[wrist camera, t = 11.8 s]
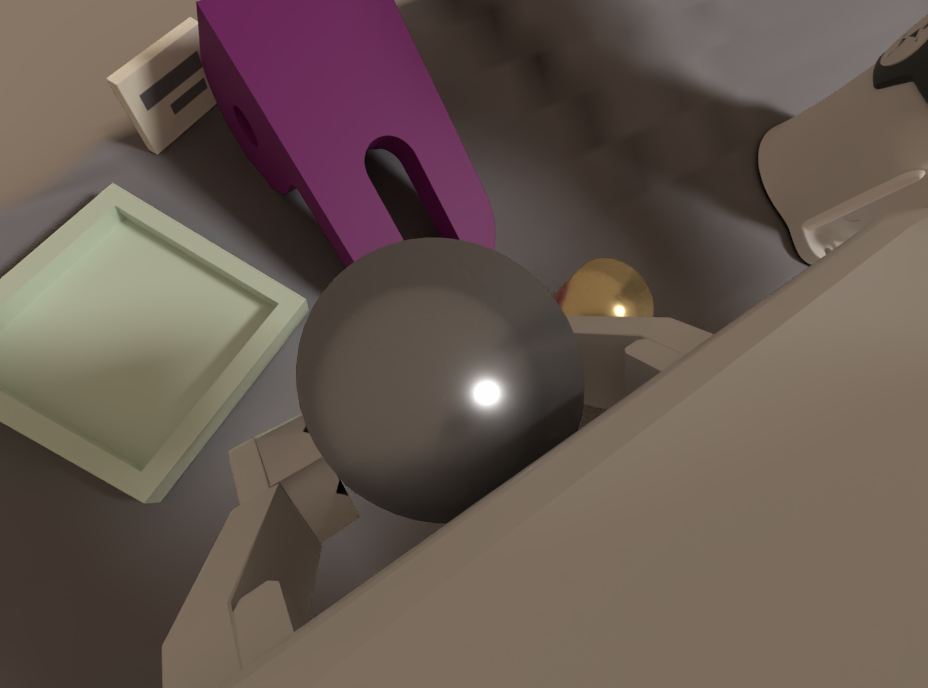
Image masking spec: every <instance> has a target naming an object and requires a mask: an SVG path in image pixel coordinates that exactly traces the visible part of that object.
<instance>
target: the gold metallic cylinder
mask: <svg viewBox="0 0 928 688" xmlns="http://www.w3.org/2000/svg"><path fill="white" fill-rule="evenodd" d="M553 298H554V299H555V300H556V301H557V303H558V304H559V306H560V307H561V309H562V311H563V312H564V314H565V316H566V317H568V316H613V317H653V312H654V304H653V298H652V294H651V292H650V289H649V287H648V285H647V284H646V282H645V280H644V279H643V278H642V277H641V275H640V274H639V273H638V272H637V271H635V270H634V269H633V268H632V267H630V266H629V265H627V264H625V263H623V262H621V261H619V260H615V259H611V258H598V259H594V260H591V261H589V262H588V263H586V264H585V265H583V266H582V267H581V268H580V269H579V270H578V271H577V272H576V273H575V274H574V275H573V276H572V277H571V278H570V279H569V280H568V281H567V282H566V283H565V284H564V285H563V286H562V287H561V288H560V289H559V290H558V291H557V292H556V293H555V294H554V295H553Z"/></svg>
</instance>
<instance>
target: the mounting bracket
mask: <svg viewBox="0 0 928 688" xmlns="http://www.w3.org/2000/svg"><path fill="white" fill-rule="evenodd" d="M196 4H197V17H198V30H199V43H200V55H201V61H202V65H203V69H204V72H205V75H206V78H207V81H208V83H209V86H210V88H211V91H212V93H213V95H214V98H215V100H216V102H217V104H218V106H219V108H220V110H221V112H222V114H223V116H224V118H225V120H226V122H227V124H228V126H229V127H230V129H231V131H232V133H233V134H234V136H235V138H236V140H237V141H238V143H239V144H240V146H241V148H242V149H243V151H244V152H245V154H246V155H247V157H248V158H249V159H250V161H251V162H252V163H253V164H254V166H255V167H256V168H257V169H258V171H259V172H260V173H261V175H262V176H263V177H264V178H265V180H266V181H267V182H268V183H269V185H270V186H271V187H272V188H273V189H274V190H276V191H277V192H279V193H280V194H286V193H288V192H290V191H292V190H294V189H297V190H298V191H299V192H300V194H301V196H302V197H303V199H304V200H305V202H306V204H307V205H308V207H309V209H310V210H311V212H312V213H313V215H314V217H315V218H316V220H317V222H318V223H319V225H320V226H321V228H322V230H323V231H324V233H325V235H326V236H327V238H328V239H329V241H330V243H331V244H332V246H333V248H334V249H335V251H336V252H337V254H338V256H339V257H340V259H341V260H342V262H343V264H344V265H345V267H348V266H349V265H351V264H352V263H353V262H355V261H356V260H358V259H359V258H361V257H362V256H364V255H366V254H368V253H370V252H372V251H374V250H376V249H378V248H381V247H384V246H387V245H389V244H392V243H396V242H400V241H404V240H403V238H402V236H401V234H400V232H399V231H398V229H397V227H396V225H395V224H394V222H393V220H392V218H391V216H390V215H389V213H388V211H387V209H386V207H385V206H384V204H383V202H382V200H381V198H380V197H379V195H378V193H377V191H376V189H375V188H374V186H373V184H372V182H371V181H370V179H369V177H368V175H367V172H366V169H365V162H364V159H365V153H366V150H368V149H371V148H372V149H380V148H381V149H385V150H387V151H389V152H391V153H392V154H394V155H395V156H396V157H397V158H398V159H399V160H400V162H401V163H402V165H403V167H404V169H405V171H406V173H407V174H408V176H409V178H410V180H411V182H412V184H413V186H414V188H415V190H416V191H417V193H418V195H419V197H420V199H421V201H422V203H423V205H424V207H425V208H426V210H427V212H428V214H429V216H430V218H431V220H432V222H433V224H434V226H435V227H436V229H437V231H438V233H439V235H440V237H441V238H450V239H457V240H463V241H467V242H471V243H475V244H479V245H481V246H484V247H487V248H489V249H492V250H494V248H495V222H494V216H493V211H492V208H491V205H490V202H489V199H488V197H487V194H486V192H485V190H484V188H483V186H482V184H481V182H480V180H479V178H478V175H477V173H476V171H475V169H474V167H473V165H472V163H471V161H470V159H469V157H468V154H467V152H466V150H465V148H464V146H463V144H462V142H461V140H460V138H459V136H458V134H457V131H456V129H455V127H454V125H453V123H452V121H451V119H450V117H449V115H448V113H447V110H446V108H445V106H444V104H443V102H442V100H441V98H440V96H439V94H438V92H437V89H436V87H435V85H434V83H433V81H432V79H431V77H430V75H429V73H428V71H427V68H426V66H425V64H424V62H423V60H422V58H421V56H420V54H419V52H418V50H417V48H416V45H415V43H414V41H413V39H412V37H411V35H410V33H409V31H408V29H407V27H406V24H405V22H404V20H403V18H402V16H401V14H400V12H399V10H398V8H397V6H396V3H395V1H394V0H201V1H197V2H196Z"/></svg>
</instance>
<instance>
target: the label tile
mask: <svg viewBox="0 0 928 688" xmlns="http://www.w3.org/2000/svg"><path fill="white" fill-rule="evenodd" d="M106 79H107V81H108V83H109V84H110V86H111V88H112V89H113V91H114V93H115V94H116V96H117V98H118V99H119V101H120V103H121V104H122V106H123V108H124V109H125V111H126V113H127V114H128V116H129V118H130V119H131V121H132V123H133V125H134V126H135V128H136V130H137V131H138V133H139V135H140V136H141V138H142V140H143V141H144V143H145V145H146V146H147V148H148V150H150V151H151V152H153V153H155V154H156V155H158V154H159V153H160V152H162V151H163V150H164V149H165V148H166V147H167V146H168V145H170V144H171V143H172V142H173V141H174V140H175V139H177V138H178V137H179V136H180V135H181V134H182V133H183V132H185V131H186V130H187V129H188V128H189V127H190V126H191V125H193V124H194V123H195V122H196V121H197V120H198V119H200V118H201V117H202V116H203V115H204V114H205V113H206V112H208V111H209V110H210V109H211V108H212V107H213V106H215V105H216V104H217V102H216V100H215V98H214V95H213V93H212V91H211V88H210V86H209V83H208V81H207V78H206V75H205V72H204V69H203V65H202V61H201V55H200V43H199V30H198V21H196V20H194V19H193V18H191V17H189V18H188V19H187V20H185V21H184V22H183V23H181V24H180V25H178V26H177V27H176V28H174V29H173V30H172V31H170V32H169V33H168V34H166V35H165V36H163V37H162V38H161V39H159V40H158V41H157V42H155V43H154V44H153V45H151V46H150V47H148V48H147V49H146V50H144V51H143V52H142V53H140V54H139V55H138V56H136V57H135V58H134V59H132V60H131V61H129V62H128V63H127V64H125V65H124V66H122V67H121V68H120V69H118V70H117V71H116V72H114V73H113V74H112V75H110V76H109V77H108V78H106Z"/></svg>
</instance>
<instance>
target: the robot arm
mask: <svg viewBox="0 0 928 688" xmlns="http://www.w3.org/2000/svg"><path fill="white" fill-rule="evenodd" d="M758 164H759V171H760V175H761V178H762V182H763V184H764V187H765V189H766V192H767V194H768V196H769V197H770V199H771V201H772V203H773V204H774V206H775V207H776V209H777V210H778V212H779V213H780V215H781V216H782V218H783V219H784V221H785V222H786V224H787V226H788V228H789V230H790V233H791V236H792V239H793V242H794V245H795V248H796V250H797V252H798V254H799V255H800V257H801V258H802V259H803V260H804V261H805V262H807V263H809V264H811V266H809V267H808V268H807V269H805V270H804V271H802V272H801V273H800V274H798V275H797V276H795V277H794V278H792V279H791V280H790V281H788V282H787V283H785V284H784V285H783V286H781V287H780V288H778V289H777V290H776V291H774V292H773V293H771V294H770V295H769V296H767V297H766V298H764V299H763V300H761V301H760V302H759V303H757V304H756V305H754V306H753V307H752V308H750V309H749V310H747V311H746V312H745V313H743V314H742V315H740V316H739V317H738V318H736V319H735V320H733V321H732V322H730V323H729V324H728V325H726V326H725V327H723V328H722V329H721V330H719V331H718V332H716V333H715V334H712V333H709V332H707V331H704V330H701V329H699V328H696V327H694V326H691V325H688V324H686V323H683V322H681V321H678V320H675V319H673V318H670V317H613V316H568V317H567V319H568V321H569V323H570V326H571V328H572V330H573V332H574V334H575V337H576V341H577V344H578V347H579V350H580V354H581V359H582V364H583V372H584V384H585V385H584V404H585V405H590V406H594V407H599V408H603V409H608V410H606V411H605V412H604V413H602V414H601V415H599V416H598V417H596V418H595V419H594V420H592V421H591V422H589V423H588V424H587V425H585V426H584V427H582V428H581V429H580V430H578V431H577V432H575V433H574V434H572V435H571V436H570V437H568V438H567V439H565V440H564V441H563V442H561V443H560V444H558V445H557V446H556V447H554V448H553V449H551V450H550V451H548V452H547V453H546V454H544V455H543V456H541V457H540V458H539V459H537V460H536V461H534V462H533V463H531V464H530V465H529V466H527V467H526V468H524V469H523V470H522V471H520V472H519V473H517V474H516V475H515V476H513V477H512V478H510V479H509V480H507V481H506V482H505V483H503V484H502V485H500V486H499V487H498V488H496V489H495V490H493V491H492V492H491V493H489V494H488V495H486V496H485V497H483V498H482V499H481V500H479V501H478V502H476V503H475V504H474V505H472V506H471V507H469V508H468V509H467V510H465V511H464V512H462V513H461V514H460V515H458V516H457V517H455V518H454V519H453V520H451V521H450V522H448V523H447V524H445V525H444V526H443V527H441V528H440V529H438V530H437V531H436V532H434V533H433V534H431V535H430V536H429V537H427V538H426V539H424V540H423V541H422V542H420V543H419V544H417V545H416V546H415V547H413V548H412V549H410V550H409V551H408V552H406V553H405V554H403V555H402V556H401V557H399V558H398V559H396V560H395V561H393V562H392V563H391V564H389V565H388V566H386V567H385V568H384V569H382V570H381V571H379V572H378V573H377V574H375V575H374V576H372V577H371V578H370V579H368V580H367V581H365V582H364V583H363V584H361V585H360V586H358V587H357V588H356V589H354V590H353V591H351V592H350V593H349V594H347V595H346V596H344V597H343V598H342V599H340V600H339V601H337V602H336V603H334V604H333V605H332V606H330V607H329V608H327V609H326V610H325V611H323V612H322V613H320V614H319V615H317V616H316V617H315V618H313V619H312V620H311V619H310V618H309V617H308V615H309V610H310V605H311V599H312V594H313V589H314V584H315V579H316V573H317V568H318V563H319V558H320V552H321V547H322V546H321V543H323V542H324V541H326V540H327V539H328V538H330V537H331V536H333V535H334V534H336V533H337V532H339V531H340V530H342V529H343V528H345V527H346V526H347V525H349V524H350V523H352V522H353V521H355V520H356V519H358V518H359V517H360V516H359V515H358V513H357V511H356V509H355V507H354V505H353V503H352V501H351V499H350V497H349V495H348V493H347V492H346V490H345V488H344V486H343V484H342V482H341V480H340V478H339V477H338V475H337V474H336V473H335V472H334V471H333V470H332V469H331V467H330V466H329V465H328V464H327V463H326V461H325V460H324V458H323V457H322V455H321V454H320V452H319V451H318V449H317V448H316V446H315V444H314V442H313V440H312V438H311V436H310V434H309V432H308V429H307V427H306V425H305V421H304V418H303V415H302V413H301V414H299V415H297V416H295V417H293V418H291V419H289V420H287V421H285V422H283V423H281V424H279V425H277V426H275V427H273V428H271V429H269V430H267V431H265V432H263V433H261V434H259V435H257V436H255V438H251V439H249V440H247V441H245V442H244V443H242V444H240V445H238V446H236V447H234V448H232V449H230V450H229V453H228V459H229V463H230V467H231V471H232V476H233V480H234V484H235V489H236V493H237V497H238V502H239V506H238V507H236V508H234V509H232V510H231V512H230V514H229V516H228V518H227V520H226V522H225V524H224V526H223V528H222V530H221V532H220V534H219V536H218V538H217V540H216V542H215V543H214V545H213V547H212V549H211V551H210V553H209V555H208V557H207V559H206V561H205V563H204V565H203V567H202V569H201V571H200V573H199V575H198V577H197V579H196V581H195V583H194V585H193V586H192V588H191V590H190V592H189V594H188V596H187V598H186V600H185V602H184V604H183V606H182V608H181V610H180V612H179V614H178V616H177V618H176V620H175V622H174V624H173V626H172V628H171V629H170V631H169V633H168V635H167V637H166V639H165V641H164V643H163V645H162V686H163V688H928V15H926V16H925V17H924V18H922V19H921V20H920V21H919V22H918V23H916V24H915V25H914V26H913V27H912V28H910V29H909V30H908V31H907V32H906V33H905V34H903V35H902V36H901V37H900V38H899V39H898V40H897V41H896V42H895V43H894V44H893V45H892V46H891V47H890V48H889V49H888V50H887V51H886V52H885V53H883V54H882V55H881V56H880V57H879V59H878V60H877V62H876V64H874V65H873V66H871V67H870V68H869V69H867V70H866V71H865V72H863V73H862V74H860V75H859V76H858V77H856V78H855V79H853V80H852V81H850V82H849V83H847V84H846V85H844V86H843V87H842V88H840V89H839V90H837V91H836V92H834V93H833V94H831V95H830V96H828V97H826V98H825V99H823V100H822V101H820V102H819V103H817V104H815V105H814V106H812V107H810V108H809V109H807V110H805V111H804V112H802V113H800V114H798V115H797V116H795V117H793V118H791V119H789V120H787V121H785V122H783V123H781V124H779V125H777V126H775V127H773V128H772V129H770V130H769V131H768V132H767V133H766V134H765V136H764V137H763V139H762V141H761V144H760V147H759V153H758Z"/></svg>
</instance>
